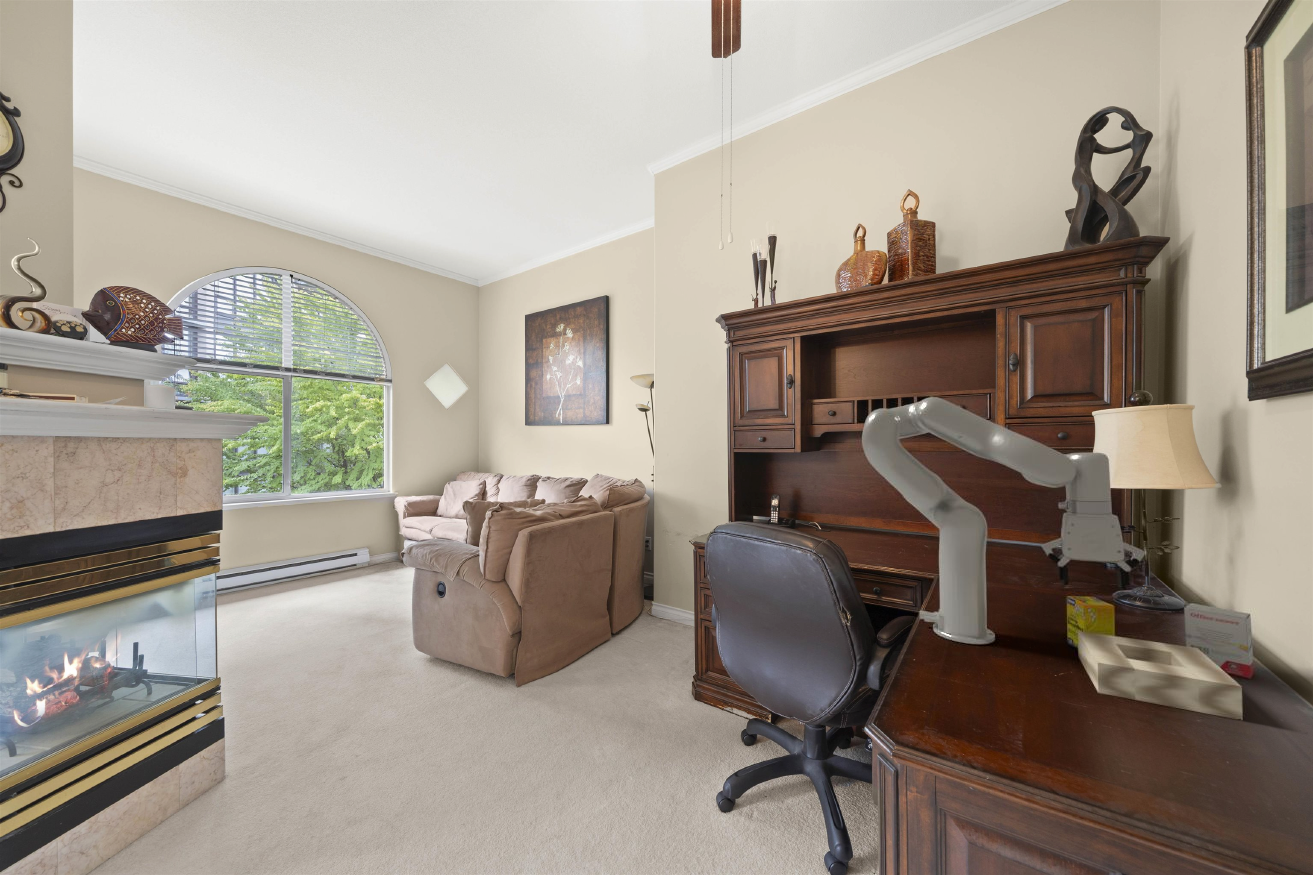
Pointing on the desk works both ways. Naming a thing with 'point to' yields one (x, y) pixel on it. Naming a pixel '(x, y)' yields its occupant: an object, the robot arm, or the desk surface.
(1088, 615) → the supplement box
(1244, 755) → the desk surface
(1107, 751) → the desk surface
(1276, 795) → the desk surface
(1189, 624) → the ink box
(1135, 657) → the well block
